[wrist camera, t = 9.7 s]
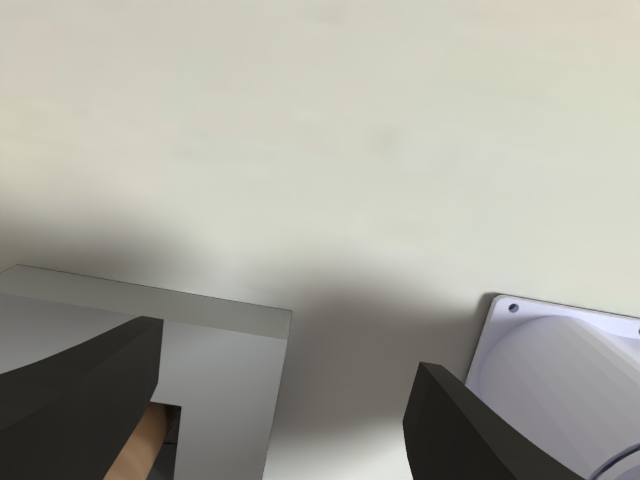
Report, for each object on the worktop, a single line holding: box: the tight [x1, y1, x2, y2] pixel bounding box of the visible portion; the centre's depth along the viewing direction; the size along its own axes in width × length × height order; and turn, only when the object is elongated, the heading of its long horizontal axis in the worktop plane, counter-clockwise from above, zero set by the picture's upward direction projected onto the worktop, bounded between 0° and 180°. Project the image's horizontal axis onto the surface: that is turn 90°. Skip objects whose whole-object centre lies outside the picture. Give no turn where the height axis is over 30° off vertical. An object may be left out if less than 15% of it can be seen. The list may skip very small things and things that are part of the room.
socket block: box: [0, 265, 292, 480], centre depth 22 cm, size 14×14×3 cm
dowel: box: [103, 401, 180, 480], centre depth 20 cm, size 4×4×8 cm
